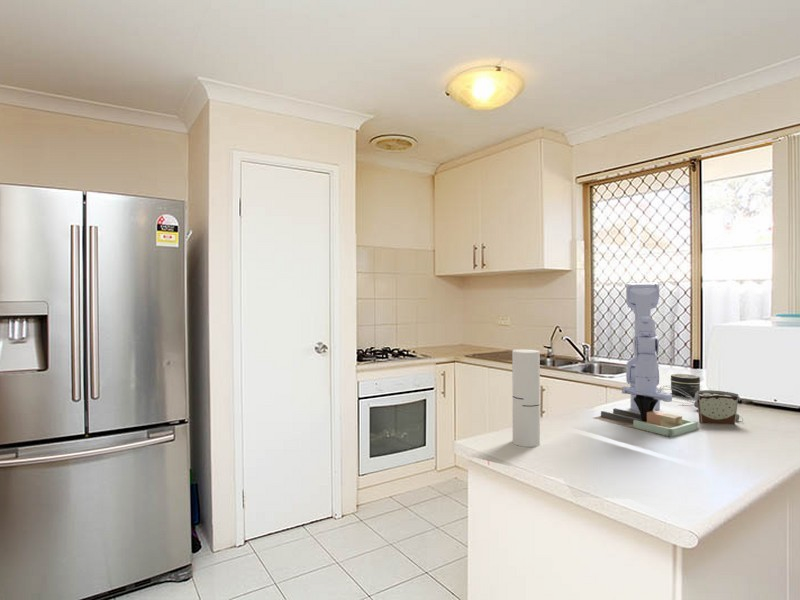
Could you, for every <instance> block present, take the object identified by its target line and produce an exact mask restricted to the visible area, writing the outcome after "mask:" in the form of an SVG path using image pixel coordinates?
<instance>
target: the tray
mask: <svg viewBox="0 0 800 600" xmlns="http://www.w3.org/2000/svg"><path fill="white" fill-rule="evenodd" d="M698 426H699V422H698V421H694V420H691V419H685V418H682V425H679V426H676V427H672V428H667V427H663V426H658V425H654V424H650V423H646V422H642V421H637V420H633V427H634V428H638V429H642V430H646V431H650V432H654V433H658V434H662V435H666V436H670V438H673V437H676V435H677V436H680V435H682V434H686V432H687V433H690V432H692V431H696V429H697V430H699V429H698V428H699V427H698ZM634 428H633V429H634ZM689 431H690V432H689ZM679 434H680V435H679Z"/></svg>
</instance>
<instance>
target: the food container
mask: <svg viewBox="0 0 800 600" xmlns="http://www.w3.org/2000/svg"><path fill="white" fill-rule="evenodd" d="M693 398H694V399H693V400H697V405H698V408H697V411H698V412H697V413H698V421H699V422H698V423H700V424H714V425H716V424H717V425H718V424H719V425H720V424H721V425H736V422H737V421H736V414H738V412H737V411H738V403H739V402H741V398H740V396H739V394H738V393H735V392H728V391H724V390H710V389H706V390H705V389H700V391H697V392H696V394H695V397H693Z"/></svg>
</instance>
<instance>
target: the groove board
mask: <svg viewBox="0 0 800 600" xmlns="http://www.w3.org/2000/svg"><path fill="white" fill-rule="evenodd" d="M612 412H613V413H612ZM612 412H610V411H609V412H608V411H605V410H601V411H600V415H599V416H596V417H593V419H594V420H599V421H603V422H607V423H609V424H610V423H611V424H615V425H619V426H622V427H626V428H629V429H633V430H638V431H642V432H647V433H648V434H649V433H650V434H653V435H654V434H655V435H658V436H662V437H665V438H669V439H670V438H671V437H670V436H666V435H662V434H658V433H654V432H650V431H646V430H642V429H638V428H634V427H633V420H637V421H642V418H641V415H640V413H639V412H638V413H637V412H633V411H628V410H624V409H620V408H613V409H612ZM642 422H644V421H642ZM646 423H647V422H646ZM699 429H700V428H699V427H698V429H696V430H699ZM696 430H695V431H696ZM690 432H691V431H689V432H686V433H690ZM686 433H685V434H686ZM680 435H681V434H679V435H676V436H680ZM676 436H675V437H676Z"/></svg>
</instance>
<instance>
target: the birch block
mask: <svg viewBox="0 0 800 600" xmlns="http://www.w3.org/2000/svg"><path fill="white" fill-rule="evenodd" d="M666 413H667V414H663V415H660V426H663V427H667V428H672V427H676V426H679V425H682V419H683V416H682V415H678V414H674V413H670V412H669V413H668V412H666Z"/></svg>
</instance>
